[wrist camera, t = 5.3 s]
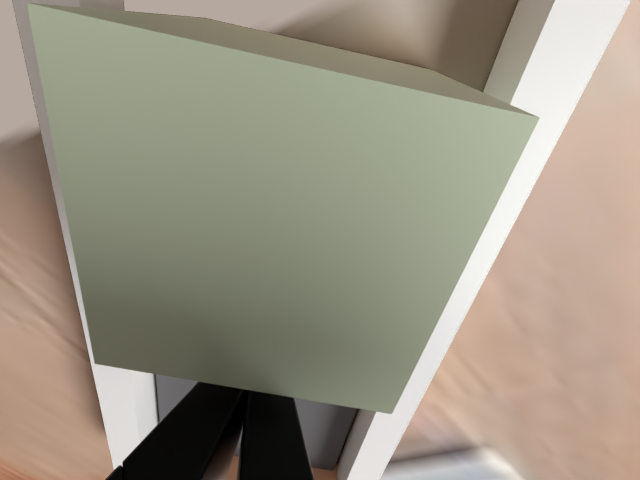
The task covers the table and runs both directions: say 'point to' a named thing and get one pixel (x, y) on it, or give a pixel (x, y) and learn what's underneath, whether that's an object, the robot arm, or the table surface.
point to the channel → (554, 111)
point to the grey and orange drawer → (315, 418)
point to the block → (265, 199)
